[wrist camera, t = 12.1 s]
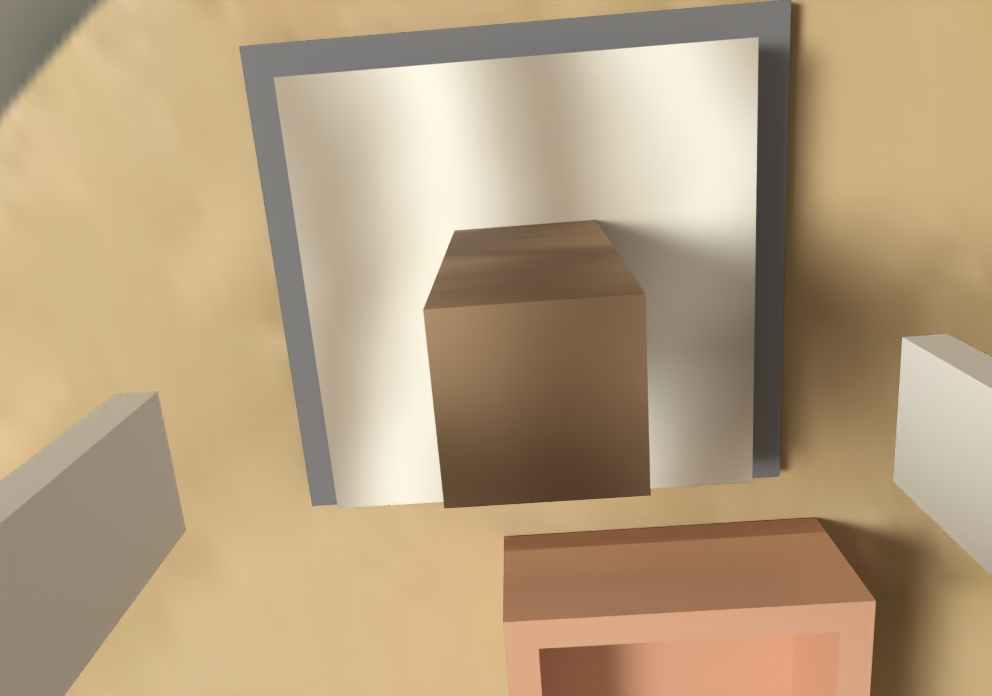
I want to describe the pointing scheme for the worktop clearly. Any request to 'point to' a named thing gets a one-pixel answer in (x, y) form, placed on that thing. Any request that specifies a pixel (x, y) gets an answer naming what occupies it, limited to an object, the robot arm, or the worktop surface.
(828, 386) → the worktop surface
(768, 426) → the mat
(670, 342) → the lid
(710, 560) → the dish
